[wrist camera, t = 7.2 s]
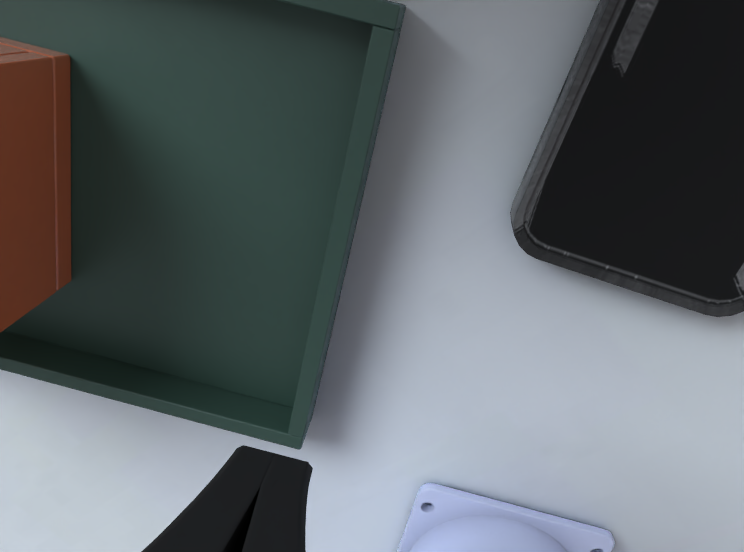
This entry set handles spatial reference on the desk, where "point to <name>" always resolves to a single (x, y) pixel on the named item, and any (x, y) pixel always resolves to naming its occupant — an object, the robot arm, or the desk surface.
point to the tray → (207, 199)
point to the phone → (647, 156)
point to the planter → (33, 177)
